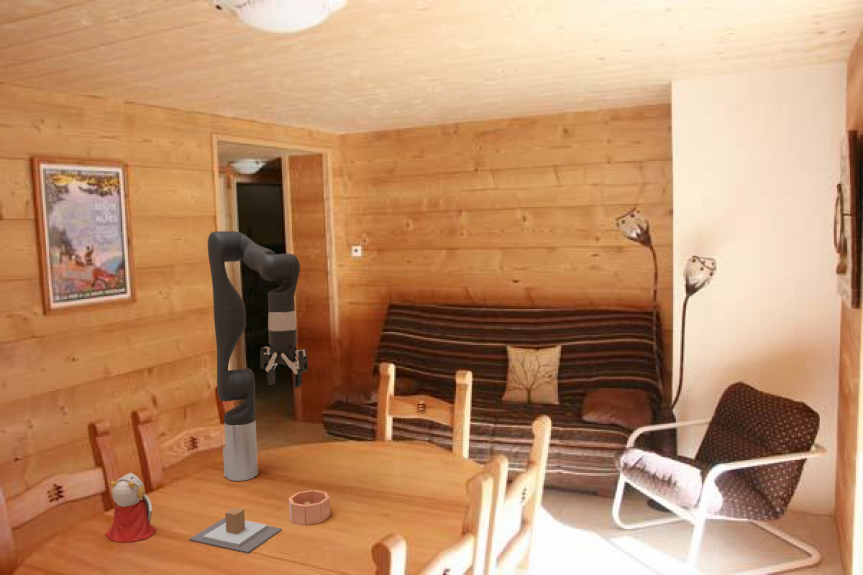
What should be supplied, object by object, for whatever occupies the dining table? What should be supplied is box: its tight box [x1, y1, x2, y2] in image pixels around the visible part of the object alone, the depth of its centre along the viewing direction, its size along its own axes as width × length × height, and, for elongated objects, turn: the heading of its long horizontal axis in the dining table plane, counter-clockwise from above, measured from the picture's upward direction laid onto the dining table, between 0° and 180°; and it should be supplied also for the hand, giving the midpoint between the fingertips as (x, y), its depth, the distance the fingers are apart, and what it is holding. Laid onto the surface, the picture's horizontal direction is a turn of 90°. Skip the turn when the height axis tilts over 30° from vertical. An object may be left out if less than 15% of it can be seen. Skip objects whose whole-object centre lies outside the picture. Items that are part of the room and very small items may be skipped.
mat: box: [188, 517, 283, 554], centre depth 168 cm, size 18×13×1 cm
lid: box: [203, 507, 269, 547], centre depth 168 cm, size 11×11×6 cm
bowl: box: [288, 489, 331, 526], centre depth 178 cm, size 10×10×5 cm
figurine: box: [105, 472, 157, 543], centre depth 171 cm, size 13×12×15 cm
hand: (284, 385), depth 186 cm, fingers open, 8 cm apart
